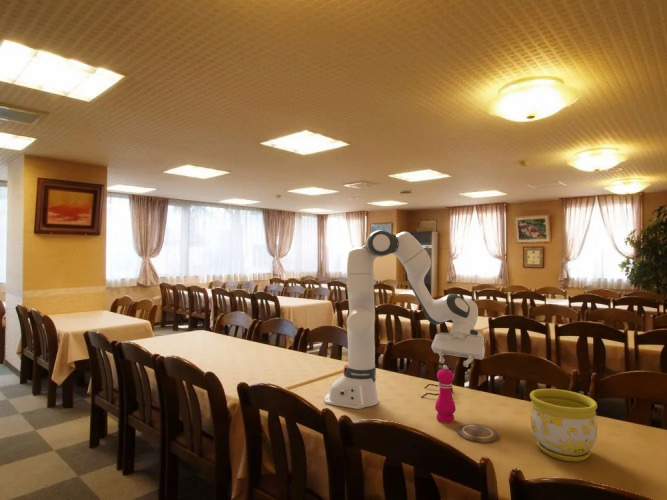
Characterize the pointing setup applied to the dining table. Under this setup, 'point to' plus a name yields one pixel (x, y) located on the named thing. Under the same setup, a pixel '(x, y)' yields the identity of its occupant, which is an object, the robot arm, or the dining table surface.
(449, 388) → the pepper mill
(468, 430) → the coaster
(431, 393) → the glasses
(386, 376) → the dining table surface
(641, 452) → the dining table surface
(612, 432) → the dining table surface
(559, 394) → the flowerpot
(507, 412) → the dining table surface
